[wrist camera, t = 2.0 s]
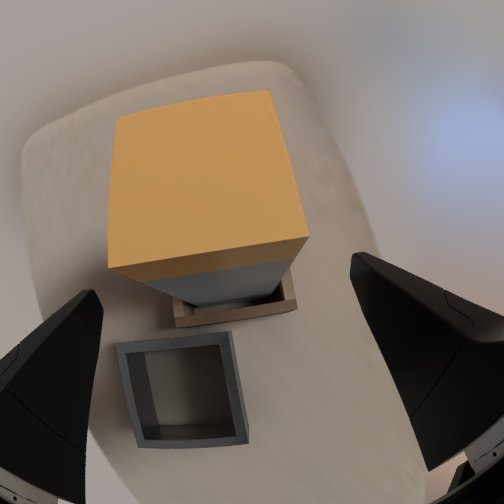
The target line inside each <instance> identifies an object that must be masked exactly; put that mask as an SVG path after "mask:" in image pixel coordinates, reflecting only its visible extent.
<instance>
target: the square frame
mask: <svg viewBox="0 0 504 504" xmlns="http://www.w3.org/2000/svg"><path fill="white" fill-rule="evenodd" d="M276 287H277V292H278V298H279V302H274V303H269V304H263V305H257V306H251V307H244V308H238V309H231V310H225V311H218V312H211V313H204V314H197V315H194V309H193V304H191V303H189V302H186V301H184V300H181V299H179V298H176V297H174V296H172V303H173V311H174V318H175V325H176V328H188V327H196V326H204V325H211V324H219V323H226V322H232V321H239V320H245V319H251V318H258V317H263V316H269V315H275V314H281V313H286V312H291V311H294V310H297V309H298V308H297V303H296V297H295V292H294V287H293V281H292V276H291V271H290V267H289V268H288V270H287V271H286V273H285V274H284V276H283V277H282V279H281V280H280V282H279V283H278V285H277V286H276Z"/></svg>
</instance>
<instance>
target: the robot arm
mask: <svg viewBox="0 0 504 504" xmlns="http://www.w3.org/2000/svg"><path fill="white" fill-rule="evenodd" d="M350 279H351V282H352V285H353V288H354V290H355V293H356V296H357V298H358V301H359V304H360V307H361V310H362V312H363V315H364V317H365V319H366V321H367V323H368V325H369V328H370V330H371V332H372V334H373V336H374V338H375V340H376V342H377V344H378V347H379V349H380V351H381V353H382V355H383V357H384V360H385V362H386V364H387V366H388V369H389V371H390V373H391V375H392V378H393V380H394V382H395V385H396V387H397V389H398V392H399V394H400V397H401V399H402V402H403V404H404V407H405V409H406V412H407V414H408V417H409V418H410V422H411V425H412V427H413V430H414V433H415V436H416V438H417V441H418V444H419V447H420V449H421V452H422V455H423V458H424V461H425V464H426V467H427V469H428V471H431V470H433V469H435V468H437V467H438V466H440V465H442V464H444V463H445V462H447V461H449V460H450V459H452V458H454V457H455V456H457V455H458V454H460V453H462V452H463V451H464V452H465V454H466V456H467V459H468V460H467V461H466V462H464V463H463V464H461V465H460V466H458V467H457V469H456V472H455V475H454V477H453V480H452V482H451V485H450V487H449V490H448V492H447V494H445V495H444V496H442V497H440V498H439V499H437V500H435V501H433V502H432V503H430V504H504V316H502V315H500V314H497V313H495V312H492V311H491V310H488V309H486V308H484V307H481V306H479V305H477V304H474V303H472V302H470V301H468V300H465V299H463V298H461V297H459V296H457V295H455V294H453V293H451V292H449V291H447V290H443V288H441V287H439V286H437V285H435V284H433V283H430V282H429V281H426V280H424V279H422V278H420V277H418V276H416V275H414V274H412V273H409V272H407V271H405V270H403V269H401V268H399V267H397V266H395V265H392V264H390V263H388V262H386V261H384V260H382V259H379V258H377V257H375V256H373V255H370V254H368V253H366V252H358V253H354V254H353V255H352V259H351V268H350ZM103 314H104V311H103V307H102V305H101V303H100V301H99V298H98V296H97V294H96V292H95V291H94V290H92V289H89V290H83V291H81V292H80V293H79V294H78V295H76V296H75V297H74V298H72V299H71V300H70V301H69V302H67V303H66V304H65V305H64V306H62V307H61V308H60V309H59V310H58V311H56V312H55V313H54V314H53V315H51V316H50V317H49V318H48V319H47V320H45V321H44V322H43V323H42V324H41V325H40V326H38V327H37V328H36V329H35V330H34V331H33V332H31V333H30V334H29V335H28V336H27V337H26V338H24V339H23V340H22V341H21V342H20V344H18V345H17V346H16V347H14V348H13V349H12V350H11V351H10V352H9V353H8V354H6V355H5V356H4V357H3V358H2V359H1V360H0V504H57V503H58V498H59V499H62V500H65V501H68V502H71V503H74V504H86V503H85V502H86V500H85V466H86V464H85V463H86V443H87V430H88V420H89V411H90V403H91V395H92V388H93V382H94V376H95V370H96V364H97V359H98V354H99V347H100V339H101V330H102V321H103Z"/></svg>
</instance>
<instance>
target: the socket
mask: <svg viewBox="0 0 504 504" xmlns="http://www.w3.org/2000/svg"><path fill="white" fill-rule="evenodd" d="M215 344H219V347H220V352H221V358H222V364H223V370H224V375H225V381H226V386H227V391H228V397H229V402H230V407H231V412H232V417H233V421H229V422H219V423H207V424H192V425H159V424H158V420H157V416H156V412H155V408H154V403H153V399H152V394H151V389H150V384H149V379H148V374H147V368H146V362H145V356H144V352H146V351H159V350H170V349H180V348H190V347H199V346H207V345H215ZM116 349H117V356H118V362H119V368H120V373H121V379H122V384H123V389H124V394H125V398H126V403H127V407H128V411H129V416H130V420H131V423H132V427H133V431H134V435H135V438H136V442H137V445H138V448H160V449H184V448H208V447H222V446H233V445H242V444H249V425H248V420H247V414H246V409H245V404H244V399H243V393H242V388H241V382H240V377H239V371H238V366H237V360H236V354H235V348H234V342H233V336H232V331H226V332H219V333H212V334H204V335H196V336H188V337H179V338H170V339H160V340H149V341H137V342H126V343H116Z"/></svg>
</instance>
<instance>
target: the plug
mask: <svg viewBox="0 0 504 504" xmlns="http://www.w3.org/2000/svg"><path fill="white" fill-rule="evenodd" d="M308 237H309V233H308V229H307V224H306V220H305V216H304V212H303V208H302V204H301V200H300V196H299V192H298V188H297V184H296V181H295V177H294V173H293V169H292V166H291V162H290V158H289V155H288V151H287V148H286V144H285V141H284V137H283V134H282V131H281V127H280V124H279V121H278V117H277V114H276V111H275V108H274V104H273V101H272V98H271V95H270V92H269V90H265V91H253V92H244V93H235V94H227V95H220V96H213V97H207V98H201V99H195V100H190V101H185V102H180V103H175V104H170V105H166V106H161V107H157V108H153V109H149V110H145V111H141V112H138V113H134V114H130V115H127V116H123V117H120V118H117V124H116V130H115V138H114V145H113V154H112V163H111V174H110V187H109V206H108V268H109V269H111V270H113V271H115V272H118V273H120V274H122V275H124V276H127V277H129V278H131V279H133V280H136V281H138V282H140V283H143V284H145V285H147V286H150V287H152V288H154V289H157V290H159V291H161V292H164V293H166V294H169V295H171V296H174V297H176V298H179V299H181V300H184V301H186V302H189V303H191V304H194V305H197V306H199V307H202V308H203V307H210V306H217V305H224V304H231V303H237V302H243V301H250V300H256V299H262V298H268V297H270V295H271V294H272V292H273V291H274V289H275V288H276V286H277V285H278V283H279V282H280V280H281V279H282V277H283V276H284V274H285V273H286V271H287V270H288V268H289V267H290V265H291V264H292V262H293V261H294V259H295V258H296V256H297V254H298V253H299V251H300V250H301V248H302V247H303V245H304V244H305V242H306V240H307V239H308Z"/></svg>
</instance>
